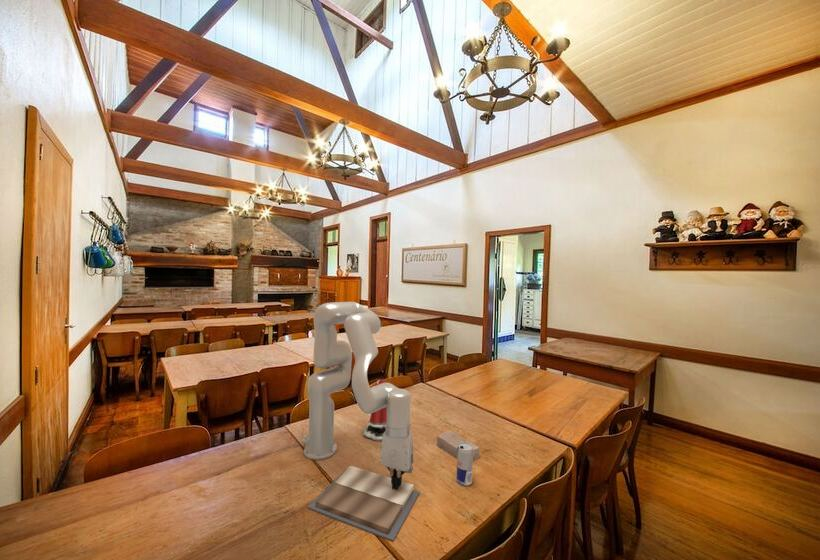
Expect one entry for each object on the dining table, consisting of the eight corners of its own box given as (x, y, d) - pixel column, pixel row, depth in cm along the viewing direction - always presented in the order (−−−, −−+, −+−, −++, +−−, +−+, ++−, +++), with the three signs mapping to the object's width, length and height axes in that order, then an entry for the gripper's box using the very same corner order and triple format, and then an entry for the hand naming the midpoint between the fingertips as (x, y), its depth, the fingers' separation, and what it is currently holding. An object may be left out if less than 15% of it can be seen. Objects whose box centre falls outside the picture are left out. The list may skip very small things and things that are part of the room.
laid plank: (315, 506, 90) (315, 501, 90) (333, 487, 98) (334, 483, 98) (388, 534, 81) (388, 528, 81) (401, 511, 89) (401, 506, 89)
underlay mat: (307, 508, 90) (307, 506, 90) (346, 470, 108) (346, 468, 108) (393, 541, 79) (393, 539, 79) (419, 493, 98) (419, 491, 98)
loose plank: (334, 486, 99) (334, 482, 99) (350, 469, 107) (350, 465, 107) (402, 510, 90) (402, 505, 90) (413, 489, 98) (413, 484, 98)
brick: (480, 457, 119) (480, 445, 120) (466, 465, 114) (466, 452, 114) (449, 440, 132) (449, 429, 132) (435, 446, 127) (436, 434, 127)
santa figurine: (380, 420, 148) (382, 369, 148) (403, 429, 140) (405, 375, 139) (355, 434, 134) (357, 378, 134) (379, 445, 126) (381, 385, 126)
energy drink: (454, 476, 107) (455, 442, 107) (469, 476, 107) (470, 442, 107) (458, 486, 102) (459, 450, 102) (474, 486, 102) (475, 450, 102)
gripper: (371, 429, 97) (370, 487, 96) (415, 440, 91) (413, 501, 91) (382, 420, 104) (381, 473, 103) (423, 429, 98) (422, 486, 98)
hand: (396, 486), depth 97 cm, fingers closed
